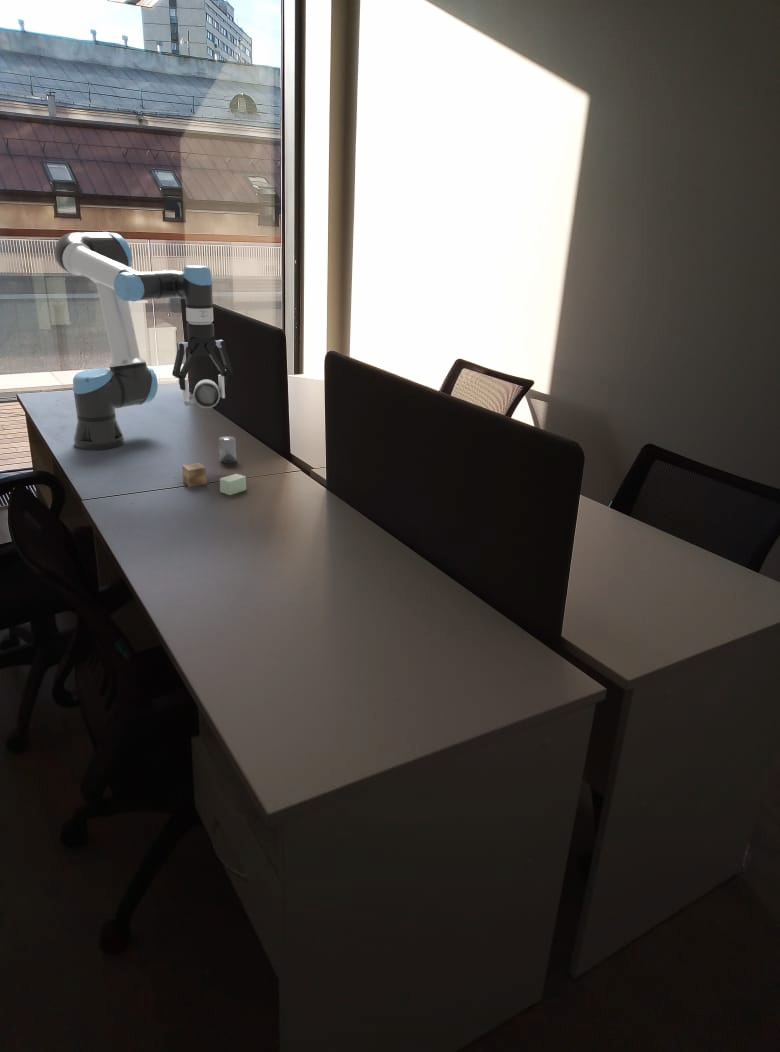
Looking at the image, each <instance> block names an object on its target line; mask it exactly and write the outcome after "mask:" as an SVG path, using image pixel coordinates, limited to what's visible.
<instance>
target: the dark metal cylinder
mask: <svg viewBox="0 0 780 1052" xmlns="http://www.w3.org/2000/svg"><path fill="white" fill-rule="evenodd" d="M236 447H237V444H236V438H235V437H234V436H229V435H228V436H220V437H219V438H218V453H219V461H220V463H222V464H223V463H224V464H232V463H235V462H237V448H236Z"/></svg>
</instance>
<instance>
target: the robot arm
mask: <svg viewBox="0 0 780 1052" xmlns="http://www.w3.org/2000/svg"><path fill="white" fill-rule="evenodd" d="M53 253H54V258H55V261H56V263H57V265H58V266H59V267H60V268H61V269H62V270H63V271H65V272H67V273H69V274H72V275H73V276H84V277H86V278H88V279H90V281H92V282H93V283H94V284H95V285H96V289H97V293H98V294H97V295H98V299H99V303H100V308H101V311H102V316H103V320H104V321H103V322H104V325H105V331H106V334H107V335H106V336H107V339H108V344H109V349H110V354H111V359H112V361H111V363H110V365H109V366H108V367H109V368H105V367H97V368H88V369H85V370H82V371H79V372H77V373H76V374H75V375H74V376H73V378H72V391H73V396H74V405H75V409H76V410H75V411H76V419H77V423H76V427H75V432H74V436H73V443H74V446H75V447H76V448H77V449H83V450H107V449H113V448H116V447H120V446H121V444H122V445H123V444H124V443H125V439H124V438H125V437H124V433H123V430H122V428H121V427H120V425H119V423H118V420H117V416H116V409H120V408H127V407H131V406H132V407H133V406H139V405H143V404H146V403H150V402H152V401H153V400H154V399H155V397H156V395H157V393H158V387H159V386H158V385H159V383H158V378H157V377H158V376H157V374H156V372H155V371H154V370H153V368H151V367H149V366H148V364H147V361H146V360H144V359H143V358H142V357H141V356H140V351H139V346H138V342H137V336H136V332H135V331H136V330H135V325H134V322H133V317H132V312H131V308H130V302H138V301H150V300H162V299H165V300H166V299H183V300H185V317H186V319H185V320H186V321H187V324H186V332H187V340H186V342H181V341H177V343H176V348H177V352H176V356H175V360H174V364H173V369H172V373H171V376H173V377H174V378H175V379H176V378H177V379H178V380H179V388H180V390H181V391H182V392H183V393H182V394H183V401H184V400H185V401H186V402H189V396H190V393H189V391H190V390H189V378H186V377H187V375H188V373H189V372H190V369H191V367H192V365H193V363H194V361H195V360H196V359H197V357H202V356H206V357H207V356H209V358H210V359H211V361H212V362H213V364H214V365H215V367H216V368H217V370H218V371H219V372H220V374H218V375H217V376H218V377H217V378H218V388H219V392H220V399H221V398H222V399H225V398H226V393H225V390H226V389H225V387H227V386H228V376H229V374H232V373H234V370H233V367H232V364H231V360H230V358H229V355H228V351H227V350H226V349H227V348H226V341H224V340H223V339H218V340H216V339H215V325H214V323H213V321H214V306H213V305H214V302H213V279H212V271H211V268H210V267H209V266H207V265H200V264H199V265H197V264H195V265H192V264H191V265H185V266H184V267H183V271H182V270H176V269H162V270H157V271H155V270H154V271H152V270H151V271H139V270H137V269H134V268H132V265H133V263H132V262H133V255H132V254H133V253H132V251H131V248H130V246H129V243H128V242H127V240H126V239H125V238H124V237H123V236H122V235H120V234H119V233H117V232H108V231H102V232H101V231H100V232H99V231H97V232H95V231H94V232H92V231H91V232H74V231H73V232H69V233H66V234H64V235H62V236H61V237H60V238H59V239H58V240H57V242H56V243H55V245H54V252H53ZM215 347H217V348H218V352H219V355H220V356H221V360H222V362H223V364H222V362H221V361H220V360H219V357H218V356H217V354H216V352H215V351H214V349H215ZM187 348H188V349H189V351H188V353H187V357H186V359H185V361H184V363H183V360H184V355H185V351H186V350H187ZM223 365H224V366H223ZM119 445H120V446H119Z"/></svg>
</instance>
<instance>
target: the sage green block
mask: <svg viewBox="0 0 780 1052" xmlns="http://www.w3.org/2000/svg"><path fill="white" fill-rule="evenodd" d="M244 491H247V477H246V476H245V475H243V474H242V475H241V474H239V473H234V474H231V475H230V474H229V475H227V476H224V477H223V476H222V477H221V478H219V492H220V493H222V494H225V495H227V496H228V495H229V496H233V495H235V494H237V493H241V492H244Z"/></svg>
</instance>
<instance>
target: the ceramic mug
mask: <svg viewBox="0 0 780 1052" xmlns="http://www.w3.org/2000/svg"><path fill="white" fill-rule="evenodd" d="M220 399H221V397H220V392H219V385H218V384H217V383H216V382H215V381H213V380H212V379H208V378H207V379H202V380H199V381H198V382H197V383H196V385H195V386H194V390H193V393H192V395H189V402H186V401H185V400H184V399H183V404H184V406H185V407H189V406H191V405H194V404H196V405H197V406H198V407H200V408H203V409H211V408H213V407H216V406H217V404H218V403H219V401H220Z"/></svg>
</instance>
